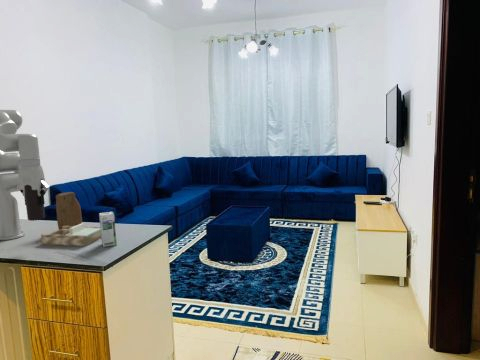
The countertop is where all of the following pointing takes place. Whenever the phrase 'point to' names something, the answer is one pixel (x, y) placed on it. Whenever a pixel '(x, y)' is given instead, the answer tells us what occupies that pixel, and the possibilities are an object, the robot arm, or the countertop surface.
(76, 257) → the countertop surface
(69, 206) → the block
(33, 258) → the countertop surface
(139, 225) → the countertop surface
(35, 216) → the vinegar
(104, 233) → the syrup box
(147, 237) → the countertop surface
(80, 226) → the lid
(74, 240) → the puzzle board
